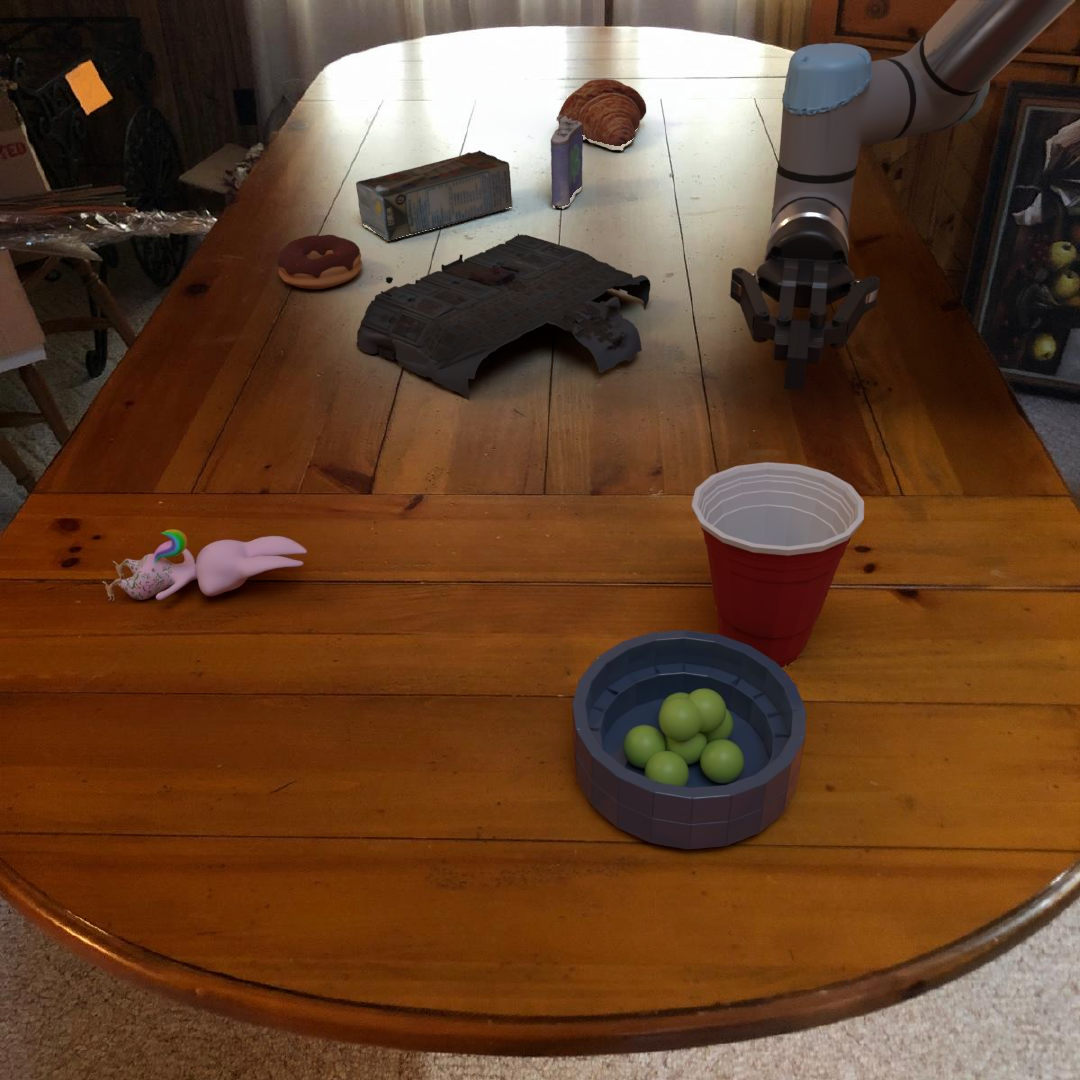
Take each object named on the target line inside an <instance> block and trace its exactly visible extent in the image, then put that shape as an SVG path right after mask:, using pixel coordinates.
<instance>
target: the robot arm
mask: <svg viewBox="0 0 1080 1080" xmlns="http://www.w3.org/2000/svg"><path fill="white" fill-rule="evenodd" d="M1076 1H1077V0H955V2H954V3H952V5H951V6H950V7H949V8H948V9H947V11H945V12H944V14H943V15H942V16H941V17H940V18H939V19H938V20H937V21H936V23H934V25H933V26H932V27H931V28H929V30H928V31H927V32H926V33H924V35H923V36H922V37H921V38H920V39H919V40H918V41H917V42H916V43H915V45H914V46H912V47H911V49H910V50H908V51H907V52H905V53H903V54H902V55H896V56H891V57H887V58H881V59H878V60H872V57H871V54H870V52H869V51H868V50H867V49H866V48H864V47H862V46H858V45H855V44H850V43H840V42H829V43H813V44H808V45H805V46H801V47H800V48H799V49H797V50H796V51H795V52H794V53H793V54H792V55H791V57H790V59H789V62H788V67H787V73H786V76H785V83H784V89H783V90H784V91H783V93H782V99H781V104H782V113H781V126H780V127H781V128H780V141H779V153H778V154H779V155H778V160H777V167H776V171H775V172H776V174H775V183H774V193H773V202H772V209H771V222H770V228H769V231H768V236H767V242H766V249H765V254H764V260H763V264H761V265H758V267H757V269H756V272H754V271H751V272H749V271H748V270H746V269H745V268H742V267H735V268H732V269H731V277H730V278H731V280H730V291H729V296H730V299H732V300H733V301H735V302H736V303H737V304H738V305H740V309H741V311H742V314H743V317H744V320H745V322H746V325H747V328H748V331H749V333H750V336H751V339H752V341H753V342H755V343H758V344H760V343H766V342H767V341H768V340H770V341H771V342H772V343H773V347H772V356H771V358H773V360H774V361H782V362H786V363H785V364H786V365H785V373H784V383H783V389H784V390H793V391H804V388H805V381H806V380H805V379H806V372H807V365H808V364H817V365H818V364H820V363H821V362H822V358H823V357H822V356H823V350H824V346H827V345H828V346H829V347H830V348H832V349H836V350H840V349H843V348H844V347H845V346H846V344H847V342H848V341H849V339H850V338H851V336H852V335H853V332H854V331H855V329H856V327H857V326H858V325H859V323H860V321H861V319H862V317H863V315H864V314H866V313H867V312H869V311H871V310H873V309H874V308H876V307H877V302H878V296H879V289H880V284H881V279H880V277H878V276H874V275H872V276H867V277H865V278H863V279H860V278H856V279H855V273H854V272H853V271H852V270H851V269H850V268H849V262H850V261H849V258H850V257H849V255H850V254H849V252H850V239H849V238H850V231H849V227H850V218H851V217H850V216H851V208H852V201H853V194H854V188H855V180H856V174H857V169H858V162H859V157H860V151H861V148H865V147H870V146H873V145H877V144H881V143H886V142H890V141H893V140H894V141H895V140H899V139H904V138H909V137H912V136H918V135H922V134H926V133H936V132H942V131H946V130H948V129H950V128H952V127H954V126H956V125H959V124H963V123H965V122H968V121H969V120H971V119H973V117H975V116H976V115H977V114H978V113H979V112H980V111H981V110H982V108H983V106H984V103H985V100H986V98H987V96H988V94H989V91H990V88H991V87H990V85H991V81H992V80H993V79H994V78H995V77H996V76H997V75H998V74H999V73H1000V72H1001V71H1003V69H1004V68H1006V67H1007V65H1009V64H1010V63H1011V62H1012V61H1013V60H1014V59H1015V58H1016V57H1017V56H1018V55H1020V53H1022V52H1023V51H1024V50H1025V49H1026V48H1027V47H1028V46H1029V45H1030V44H1031V43H1032V42H1034V40H1035V39H1036V38H1037V37H1038V36H1040V35H1041V34H1042V33H1043V32H1044V31H1045V30H1046V29H1047V28H1048V27H1049V26H1050V25H1051V24H1052V23H1054V21H1055V20H1056V19H1058V18H1059V17H1060V16H1061V15H1062V14H1063V13H1065V11H1066V10H1067V9H1068V8H1069V7H1070V6H1072V5H1073V4H1074V3H1075V2H1076ZM764 294H765V295H766V296H768V297H769V298H770V299H772V300H773V301H774V302H776V303H778V308H777V315H776V317H773V316H771V311H770V309H769V306H768V303H767V302H766V299H765V297H764ZM843 298H844V299H843ZM841 299H843V301H842V302H841V304H840V305H839V307H838V309H837V310H836V311H835V313H834V315H833V316H832V321H831V320H830V321H826V316H827V309H826V308H827V306H829V305H831V304H832V303H834V302H835V303H836V302H837V301H839V300H841ZM794 308H797V309H798V308H799V309H808V316H807V317H808V320H796V319H795V320H794V319H793V315H794Z"/></svg>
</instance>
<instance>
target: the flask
mask: <svg viewBox="0 0 1080 1080" xmlns="http://www.w3.org/2000/svg"><path fill="white" fill-rule="evenodd" d="M560 117H562V115H560V116H558V115H557V116H556V119H555V120H556V122H558V119H559V118H560ZM571 119H572V118H570V119H568V118H567V116H563V117H562V118H561V119H560V122H561V123H560V125H559V124H558V127H557V129H556V130H555V131H554V133H552V136H551V138H550V171H551V172H550V174H551V175H550V176H551V185H550V186H551V201H550V202H551V206H552V205H554V206H555V207H556V206H558V207H561V206H565V205H568V204H569V203H570V198H571V197H572V195H573V193H574V192H575V191H576V190H577V189H579V188H580V187H581V186H582V187H583V157H584V156H583V150H584V149H583V147H584V146H583V143H584V141H583V136H582V135H583V124H582V123H581V122H579V121H570V120H571ZM558 207H557V208H558Z"/></svg>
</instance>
